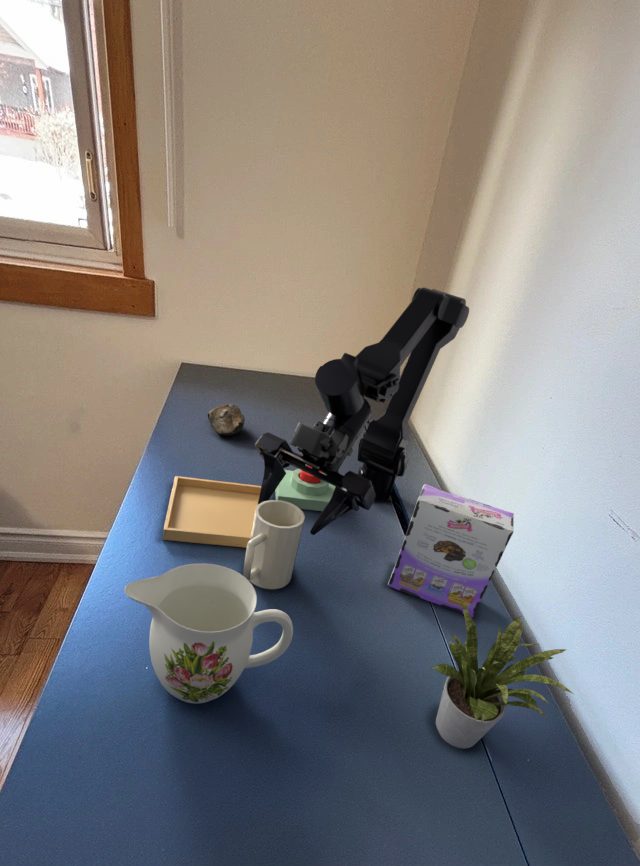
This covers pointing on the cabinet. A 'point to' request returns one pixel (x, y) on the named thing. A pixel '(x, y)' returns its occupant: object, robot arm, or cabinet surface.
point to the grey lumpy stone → (226, 419)
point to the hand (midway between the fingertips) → (285, 519)
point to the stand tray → (211, 512)
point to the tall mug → (273, 544)
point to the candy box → (451, 549)
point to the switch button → (309, 477)
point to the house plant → (485, 684)
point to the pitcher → (204, 629)
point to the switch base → (304, 492)
